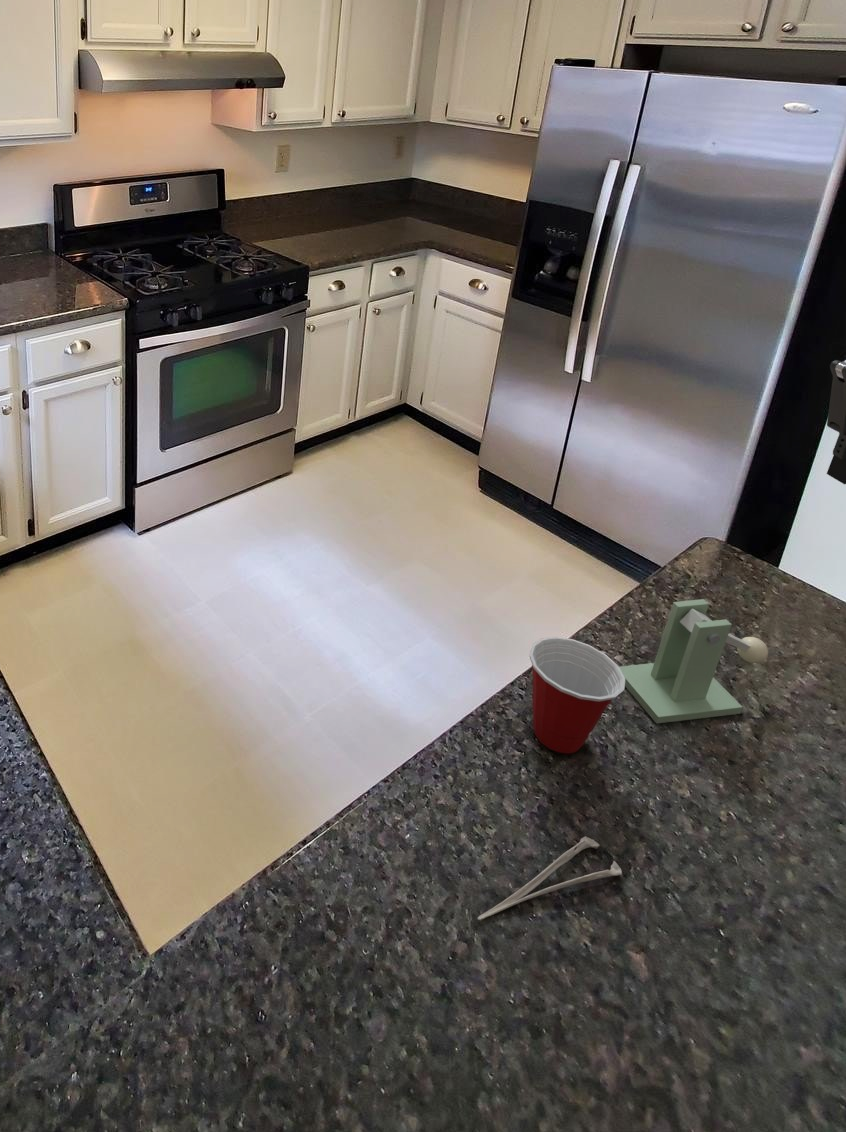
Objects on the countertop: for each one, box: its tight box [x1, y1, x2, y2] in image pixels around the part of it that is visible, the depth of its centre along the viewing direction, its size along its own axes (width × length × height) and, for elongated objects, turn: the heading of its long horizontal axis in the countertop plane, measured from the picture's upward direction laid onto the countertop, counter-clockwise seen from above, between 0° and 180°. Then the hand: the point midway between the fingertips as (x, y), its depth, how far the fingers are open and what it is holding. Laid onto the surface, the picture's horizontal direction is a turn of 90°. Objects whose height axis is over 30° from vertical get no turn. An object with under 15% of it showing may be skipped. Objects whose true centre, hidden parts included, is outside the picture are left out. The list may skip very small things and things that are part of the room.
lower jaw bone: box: [476, 835, 623, 921], centre depth 84 cm, size 17×5×2 cm, turn 112°
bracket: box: [619, 598, 743, 725], centre depth 105 cm, size 12×9×14 cm
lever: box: [680, 609, 769, 664], centre depth 105 cm, size 14×3×3 cm, turn 98°
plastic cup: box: [528, 636, 626, 754], centre depth 99 cm, size 11×11×12 cm
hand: (840, 478), depth 104 cm, fingers closed
